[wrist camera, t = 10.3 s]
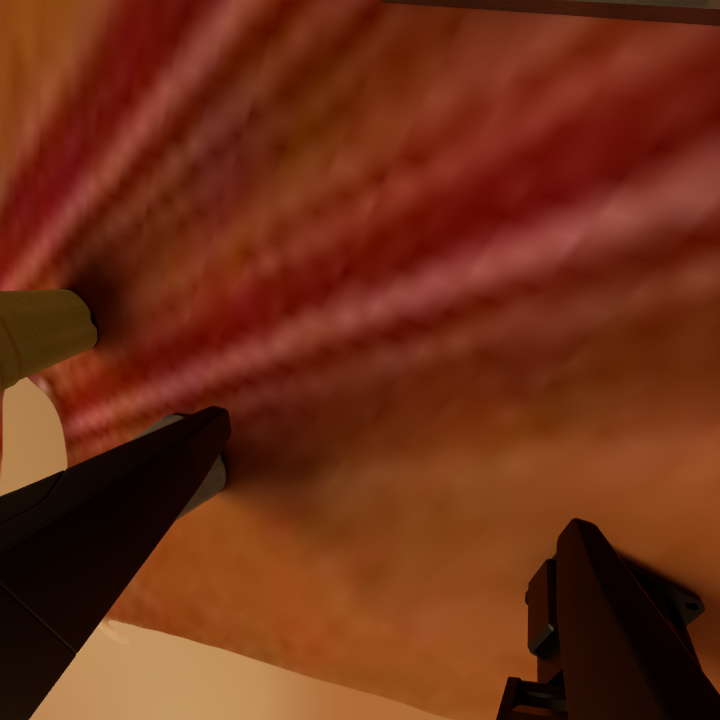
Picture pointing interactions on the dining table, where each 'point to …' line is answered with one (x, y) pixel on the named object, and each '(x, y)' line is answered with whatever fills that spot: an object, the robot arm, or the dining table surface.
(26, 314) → the plant pot
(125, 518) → the robot arm
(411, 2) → the dock
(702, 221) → the dining table surface
